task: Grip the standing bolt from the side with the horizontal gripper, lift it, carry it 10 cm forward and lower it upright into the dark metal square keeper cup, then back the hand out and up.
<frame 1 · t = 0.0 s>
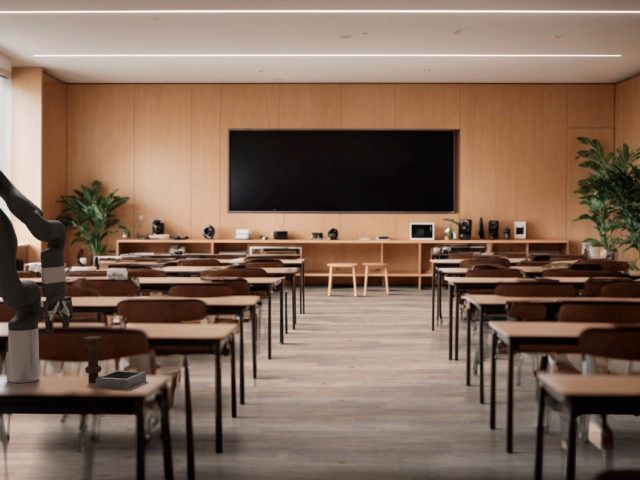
hand: (58, 330, 231), 17 cm above the table, tool pointing down, fingers open, 8 cm apart
bolt: (93, 383, 231), on the table
keeper: (121, 384, 228), on the table
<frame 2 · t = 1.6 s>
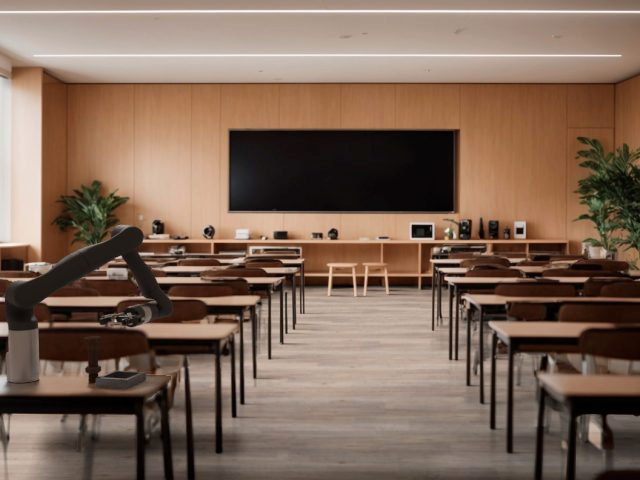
hand: (111, 322, 240), 18 cm above the table, tool horizontal, fingers open, 8 cm apart
nothing on the table moved.
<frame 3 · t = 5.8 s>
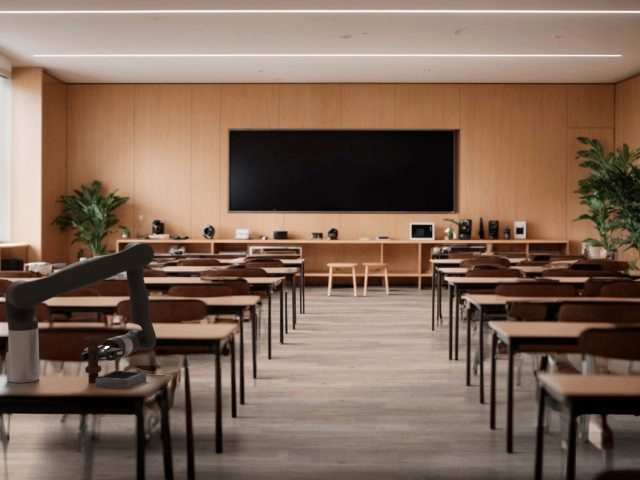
hand: (87, 357, 228), 9 cm above the table, tool horizontal, fingers closed on bolt, 3 cm apart
bolt: (93, 383, 231), on the table, touching gripper
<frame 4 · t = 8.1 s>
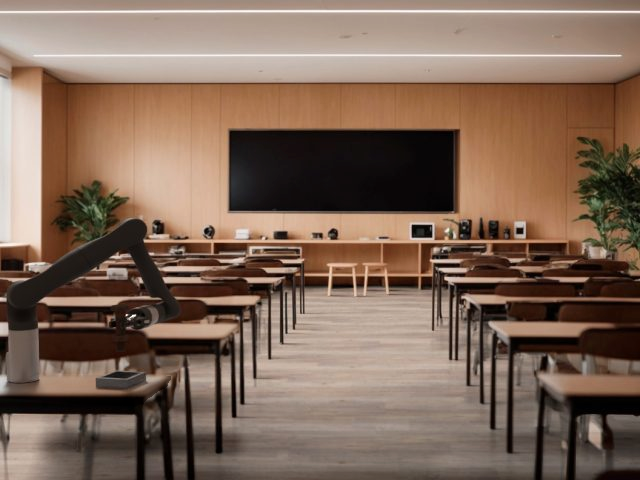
hand: (115, 325, 225), 20 cm above the table, tool horizontal, fingers closed on bolt, 3 cm apart
bolt: (121, 352, 228), point 10 cm above the table, touching gripper
when the fingers open (10 cm above the table, at t = 10.5 s): bolt drops 1 cm, resting in keeper.
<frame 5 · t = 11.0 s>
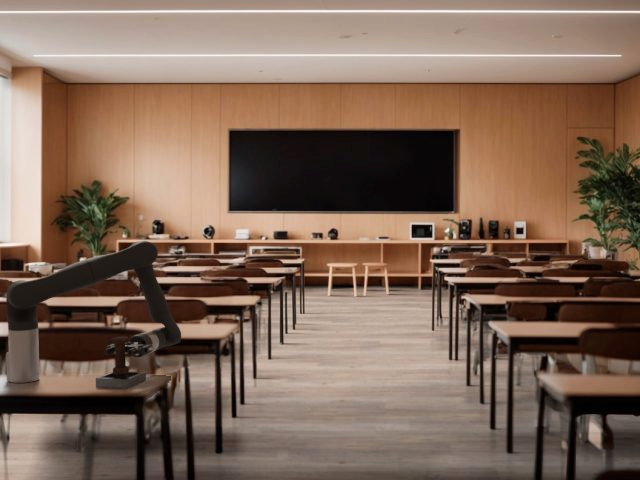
hand: (117, 353, 226), 11 cm above the table, tool horizontal, fingers open, 7 cm apart
bolt: (121, 384, 228), resting in keeper
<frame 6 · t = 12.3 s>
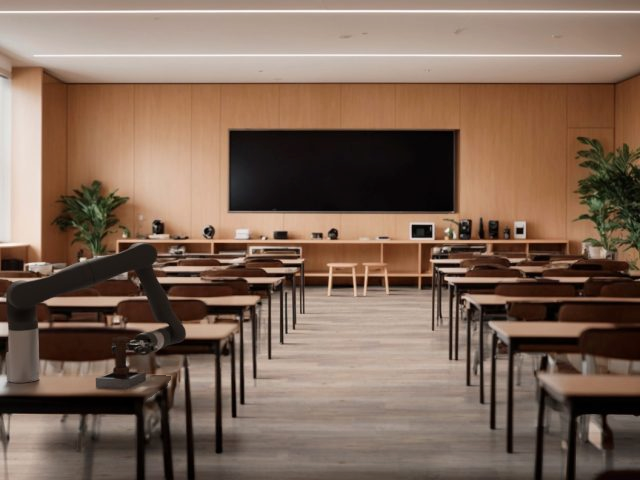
hand: (123, 351, 229), 11 cm above the table, tool horizontal, fingers open, 8 cm apart
nothing on the table moved.
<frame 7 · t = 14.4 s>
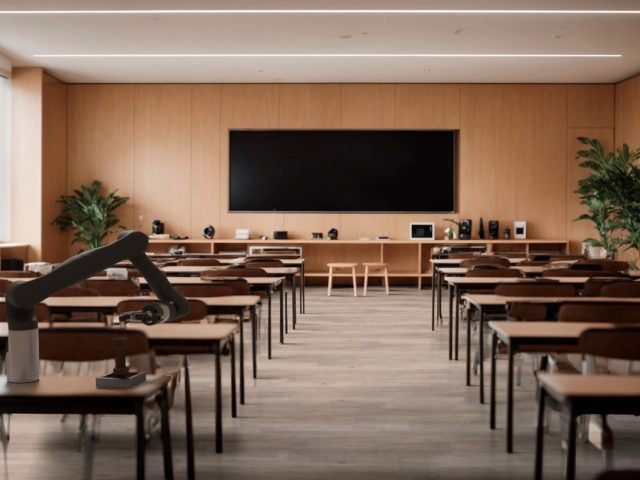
hand: (131, 319, 239), 19 cm above the table, tool horizontal, fingers open, 8 cm apart
nothing on the table moved.
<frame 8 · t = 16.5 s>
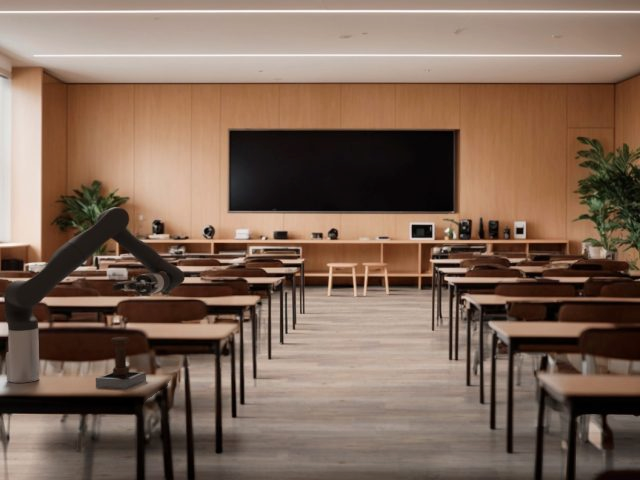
hand: (125, 288, 240), 30 cm above the table, tool horizontal, fingers open, 8 cm apart
nothing on the table moved.
at the end: bolt 0.1 cm off-centre on the keeper, point 0.0 cm above the keeper's base; bolt tilted 0°; the gripper is holding nothing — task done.
